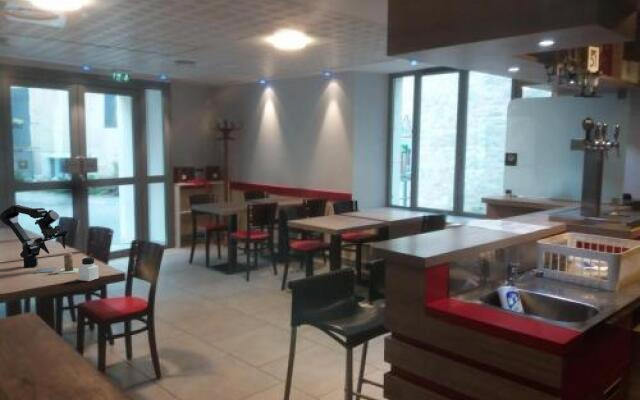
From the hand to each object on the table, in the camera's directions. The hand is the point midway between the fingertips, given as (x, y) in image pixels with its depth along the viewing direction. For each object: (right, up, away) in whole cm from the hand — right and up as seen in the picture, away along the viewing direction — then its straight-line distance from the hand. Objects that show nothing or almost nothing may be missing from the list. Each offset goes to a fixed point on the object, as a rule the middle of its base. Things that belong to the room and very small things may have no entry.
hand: (56, 251), depth 293 cm
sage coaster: (+9, -11, -3) cm, 15 cm away
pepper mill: (+9, -11, -3) cm, 14 cm away
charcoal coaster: (-5, -11, -2) cm, 13 cm away
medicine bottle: (+28, -13, -21) cm, 37 cm away
